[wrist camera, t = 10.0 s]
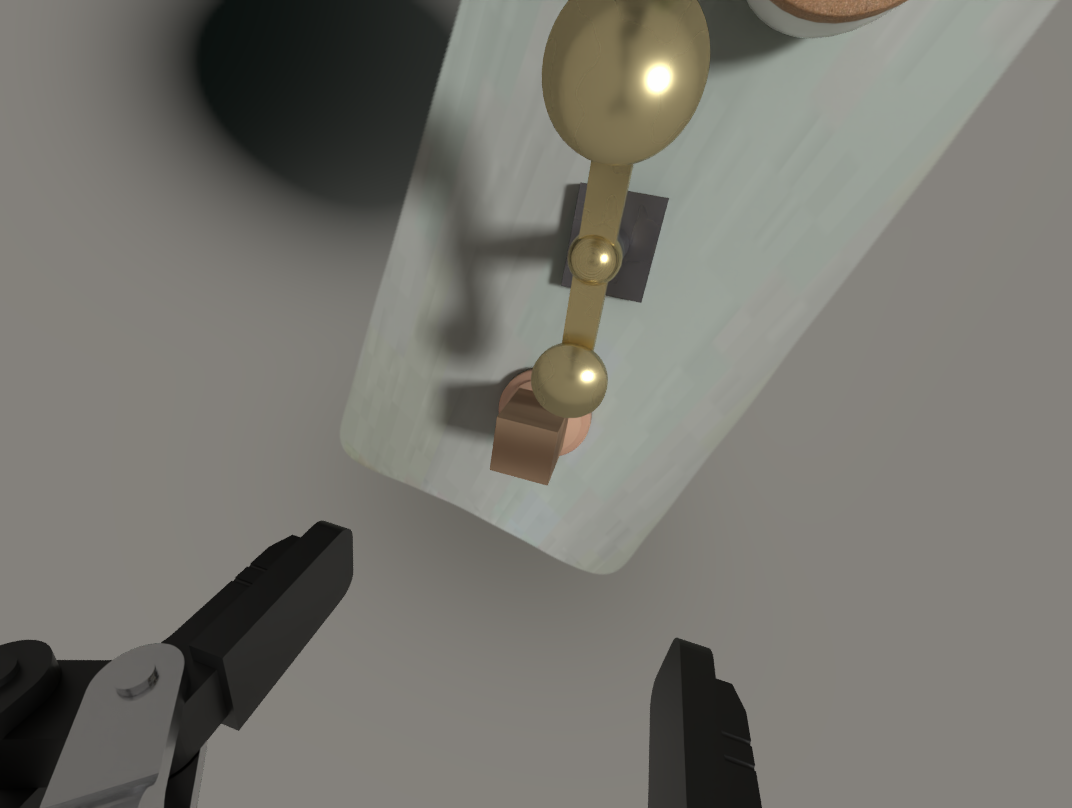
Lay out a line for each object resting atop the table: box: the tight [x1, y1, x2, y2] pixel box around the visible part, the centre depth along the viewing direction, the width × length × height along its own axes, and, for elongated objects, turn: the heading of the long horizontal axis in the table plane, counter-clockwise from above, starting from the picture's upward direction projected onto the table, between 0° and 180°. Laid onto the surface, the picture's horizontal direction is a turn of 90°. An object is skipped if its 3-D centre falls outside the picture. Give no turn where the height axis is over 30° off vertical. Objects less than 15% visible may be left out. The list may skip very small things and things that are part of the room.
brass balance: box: [531, 0, 710, 418], centre depth 26 cm, size 19×6×15 cm, turn 170°
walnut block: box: [490, 388, 569, 485], centre depth 36 cm, size 4×4×6 cm
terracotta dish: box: [499, 369, 592, 456], centre depth 39 cm, size 8×8×1 cm
